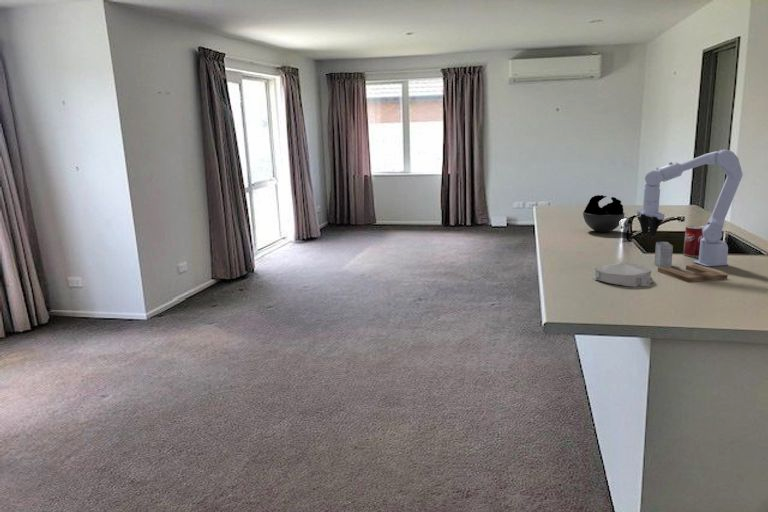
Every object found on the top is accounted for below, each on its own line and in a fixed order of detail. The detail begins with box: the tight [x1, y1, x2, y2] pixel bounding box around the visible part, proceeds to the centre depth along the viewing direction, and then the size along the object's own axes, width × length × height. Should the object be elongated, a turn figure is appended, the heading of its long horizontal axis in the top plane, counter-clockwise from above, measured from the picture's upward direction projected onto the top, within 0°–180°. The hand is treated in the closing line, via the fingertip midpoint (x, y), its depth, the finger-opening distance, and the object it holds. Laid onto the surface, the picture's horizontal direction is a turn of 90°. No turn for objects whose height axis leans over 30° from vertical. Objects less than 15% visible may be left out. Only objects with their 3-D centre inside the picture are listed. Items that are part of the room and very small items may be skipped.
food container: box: [592, 261, 654, 288], centre depth 206 cm, size 20×20×7 cm
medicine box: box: [654, 241, 674, 268], centre depth 226 cm, size 8×4×9 cm, turn 168°
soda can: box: [683, 225, 704, 258], centre depth 241 cm, size 7×7×12 cm
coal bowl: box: [582, 194, 626, 233], centre depth 297 cm, size 20×20×19 cm
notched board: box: [657, 264, 729, 283], centre depth 211 cm, size 16×16×2 cm
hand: (648, 234), depth 234 cm, fingers open, 4 cm apart
